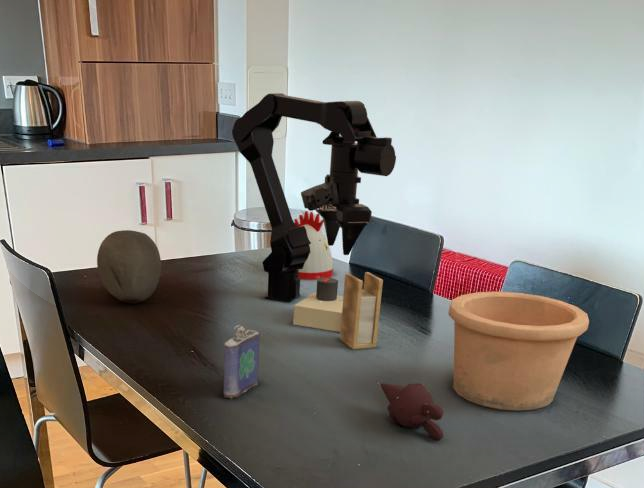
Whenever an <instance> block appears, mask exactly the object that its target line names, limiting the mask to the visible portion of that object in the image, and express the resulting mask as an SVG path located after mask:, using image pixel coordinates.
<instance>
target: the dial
mask: <svg viewBox="0 0 644 488" xmlns="http://www.w3.org/2000/svg"><path fill="white" fill-rule="evenodd" d="M338 287H339V280H338V279H337V278H334V277H328V278H319V279H316V291H315V292H316V298H317V299H319V300H323V301H333V300H336V299H337V295H338Z"/></svg>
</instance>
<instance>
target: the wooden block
mask: <svg viewBox="0 0 644 488" xmlns="http://www.w3.org/2000/svg"><path fill="white" fill-rule="evenodd" d="M316 292H317V291H315V292H313V293H311V294H307V295H306V296H307V297H305V298H303V299H302V300H300V301H299V302H297V303H296V304H294V305H293V321H292V322H293V323H292V324H293V325H295V326H301V327H307V328H313V329H318V330H324V331H330V332H337V333H341V321H342V308H343V295H339V294H337V299H336V300H333V301H323V300H319V299H317V298H316Z"/></svg>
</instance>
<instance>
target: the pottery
mask: <svg viewBox="0 0 644 488" xmlns="http://www.w3.org/2000/svg"><path fill="white" fill-rule="evenodd" d="M448 307H449V309H448V316H449V317H450V318H451V319H452V321H453V322H454V327H453V328H454V331H453V332H454V333H453V334H454V337H453V338H454V339H453V340H454V341H453V385H452V388H453V390H454V391H455V392H456V394H457V395H458V396H459V397H461V398H463V399H465V400H466V401H467V402H469V403H472V404H475V405H478V406H481V407H484V408H490V409H494V410H499V411H511V412H525V411H536V410H539V409H542V408H546V407H547V406H549V405H550V404H551V403H552V402H554V398H555V396H556V393H557V390H558V387H559V385H560V382H561V380H562V377H563V375H564V372H565V370H566V368H567V364H568V362H569V360H570V357H571V355H572V352H573V349H574V346H575V344H576V342H577V339H578V337H580V336H581V335H583V334H584V333H585V332H586V331H587V330H588V329H589V325H590V319H589V316H588V313H587V312H585V311H584V310H582V309H581V308H579V307H578V306H576V305H573V304H570V303H568V302H565V301H562V300H561V299H556V298H552V297H547V296H543V295H537V294H530V293H522V292H513V291H478V292H477V291H476V292H472V293H466V294H461V295H459V296H457V297H455V298H453V299H452V300H451V301H450V304H449V306H448Z"/></svg>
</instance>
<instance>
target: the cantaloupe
mask: <svg viewBox="0 0 644 488" xmlns="http://www.w3.org/2000/svg"><path fill="white" fill-rule="evenodd" d="M96 267H97V273H98V276H99V278H100V281H101V282H102V284H103V287H104V288H105V289H106V290H107V291H108V293H109V294H110V295H112V296H113V297H114V298H116V299H117V300H118V301H121V302H123V303H126V304H132V305H133V304H134V305H135V304H140V303H143V302H145V301H146V300H147V299H149V298H150V297H151V296H152V295H153V294H154V292H155V290H156V289H157V287H158V286H159V282H160V279H161V275H162V258H161V255H160V251H159V248H158V246H157V244H156V243H155V241H154V239H152V238H151V236H149V235H148V234H146V233H144V232H142V231H141V232H140V231H137V230H129V229H127V230H125V229H124V230H123V229H122V230H116V231H113V232H111V233H109V234H108V235H107V236H106V237H105V238H104V239H103V240H102V242H101V243H100V245H99V248H98V251H97V255H96Z"/></svg>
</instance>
